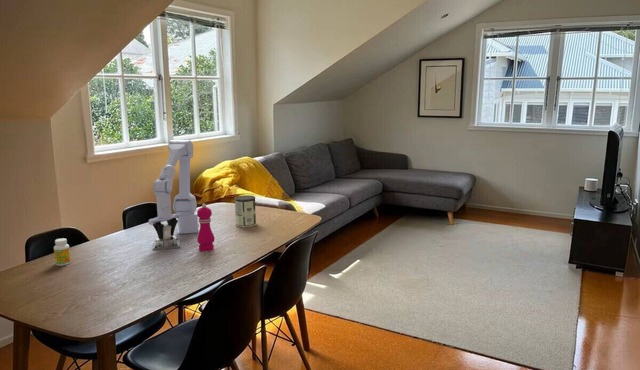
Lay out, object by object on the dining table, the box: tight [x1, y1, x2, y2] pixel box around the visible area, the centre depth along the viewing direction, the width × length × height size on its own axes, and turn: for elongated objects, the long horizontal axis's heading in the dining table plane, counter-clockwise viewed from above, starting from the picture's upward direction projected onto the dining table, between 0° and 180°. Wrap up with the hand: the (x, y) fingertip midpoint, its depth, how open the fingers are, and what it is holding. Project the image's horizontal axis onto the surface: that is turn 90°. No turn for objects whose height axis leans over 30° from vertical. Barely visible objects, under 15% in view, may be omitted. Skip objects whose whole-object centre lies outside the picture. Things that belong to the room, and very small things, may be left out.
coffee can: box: [234, 194, 257, 228], centre depth 243 cm, size 10×10×14 cm
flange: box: [152, 235, 181, 251], centre depth 212 cm, size 11×11×3 cm
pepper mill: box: [196, 203, 216, 252], centre depth 205 cm, size 7×7×20 cm
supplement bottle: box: [53, 237, 72, 266], centre depth 189 cm, size 5×5×10 cm
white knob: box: [160, 223, 171, 240], centre depth 211 cm, size 5×5×7 cm
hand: (166, 237), depth 211 cm, fingers closed on white knob, 5 cm apart
